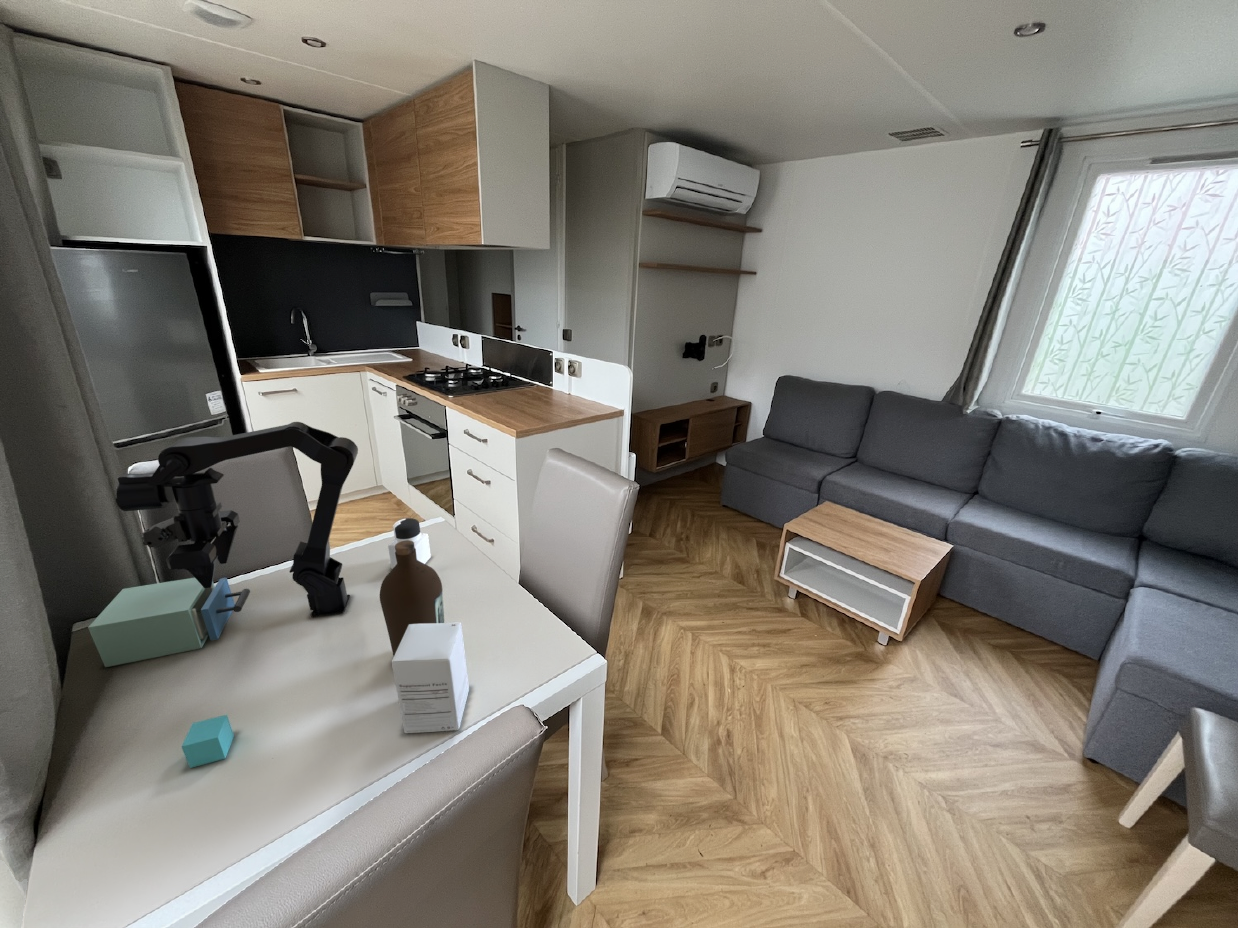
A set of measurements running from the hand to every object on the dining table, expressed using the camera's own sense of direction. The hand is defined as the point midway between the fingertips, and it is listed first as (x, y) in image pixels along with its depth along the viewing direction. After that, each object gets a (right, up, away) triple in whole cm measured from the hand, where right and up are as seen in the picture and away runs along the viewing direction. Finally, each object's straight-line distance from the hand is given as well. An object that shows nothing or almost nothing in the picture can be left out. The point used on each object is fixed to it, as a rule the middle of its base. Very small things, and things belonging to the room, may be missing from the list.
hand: (216, 574), depth 99 cm
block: (+18, -22, -23) cm, 37 cm away
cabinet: (-10, -13, +1) cm, 16 cm away
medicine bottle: (+28, -3, +28) cm, 39 cm away
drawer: (-5, -11, +2) cm, 12 cm away
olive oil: (+43, -15, -3) cm, 46 cm away
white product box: (+50, -20, -15) cm, 56 cm away
